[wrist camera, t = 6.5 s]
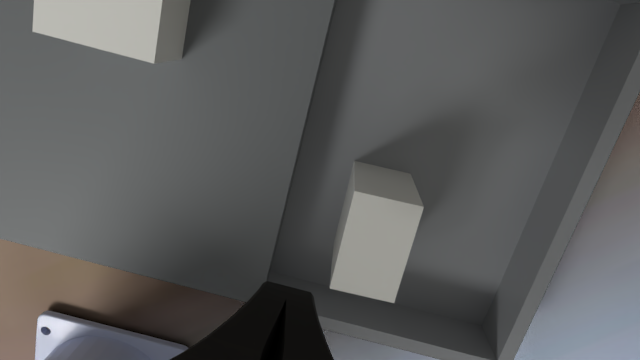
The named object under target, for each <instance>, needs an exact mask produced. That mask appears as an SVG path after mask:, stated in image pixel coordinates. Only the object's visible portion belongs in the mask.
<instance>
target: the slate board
mask: <svg viewBox="0 0 640 360" xmlns="http://www.w3.org/2000/svg"><path fill="white" fill-rule="evenodd" d="M336 4H337V0H191V1H190V7H189V14H188V21H187V27H186V34H185V41H184V47H183V54H182V59H180V60H174V61H168V62H161V63H155V64H153V63H150V62H146V61H142V60H138V59H135V58H131V57H127V56H123V55H119V54H116V53H112V52H108V51H104V50H100V49H97V48H93V47H89V46H85V45H81V44H78V43H74V42H70V41H66V40H63V39H59V38H55V37H51V36H47V35H44V34H40V33H36V32H32V30H33V10H34V0H0V239H4V240H7V241H11V242H15V243H19V244H23V245H27V246H31V247H35V248H38V249H42V250H46V251H50V252H54V253H58V254H62V255H66V256H69V257H73V258H77V259H81V260H85V261H89V262H93V263H96V264H100V265H104V266H108V267H112V268H116V269H120V270H124V271H127V272H131V273H135V274H139V275H143V276H147V277H151V278H155V279H158V280H162V281H166V282H170V283H174V284H178V285H182V286H186V287H189V288H193V289H197V290H201V291H205V292H209V293H213V294H216V295H220V296H224V297H228V298H232V299H236V300H240V301H244V302H247V301H248V300H249V299H250V298H251V297H252V296H253V295H254V294H255V293H256V292H257V290H258V289H259V288H260V286H261V285H262V283H264V282H266V281H268V278H269V275H270V272H271V268H272V264H273V260H274V256H275V252H276V248H277V244H278V240H279V235H280V231H281V227H282V223H283V219H284V215H285V211H286V207H287V203H288V199H289V195H290V191H291V187H292V183H293V179H294V175H295V170H296V166H297V162H298V158H299V154H300V150H301V146H302V142H303V138H304V134H305V130H306V126H307V122H308V118H309V114H310V110H311V105H312V101H313V97H314V93H315V89H316V85H317V81H318V77H319V73H320V69H321V65H322V61H323V57H324V53H325V49H326V44H327V40H328V36H329V32H330V28H331V24H332V20H333V16H334V12H335V8H336Z"/></svg>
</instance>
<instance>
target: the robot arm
mask: <svg viewBox="0 0 640 360" xmlns="http://www.w3.org/2000/svg"><path fill="white" fill-rule="evenodd" d="M46 327H48V328H49V329H50V330H48V329H47V328H46ZM35 360H334V359H333V357H332V355H331V352H330V350H329V347H328V345H327V342H326V339H325V337H324V334H323V331H322V328H321V325H320V322H319V318H318V315H317V311H316V306H315V301H314V296H313V295H312V293H311V292H308V291H304V290H301V289H297V288H293V287H289V286H285V285H281V284H277V283H273V282H270V281H266V282H264V283H262V285H261V286H260V288H259V289H258V290H257V292H256V293H255V294H254V295H253V296H252V297H251V298H250V299H249V300H248V301H247V302H246V304H245V305H243V306H242V307H241V308H240V309H239V310H238V311H237V312H236V313H235V314H234V315H233V316H232V317H231V318H229V319H228V320H227V321H226V322H225V323H223V324H222V325H221V326H220V327H218V328H217V329H216V330H215V331H213V332H212V333H211V334H209V335H208V336H207V337H205V338H204V339H202V340H201V341H199V342H198V343H197V344H195V345H193V346H192V347H190V348H188V347H187V346H185V345H182V344H178V343H174V342H170V341H166V340H162V339H158V338H155V337H151V336H147V335H143V334H139V333H135V332H131V331H127V330H123V329H120V328H116V327H112V326H108V325H104V324H100V323H96V322H92V321H88V320H84V319H81V318H77V317H73V316H69V315H65V314H61V313H57V312H53V311H45V312H43V313H42V314H41V315H40V316H39V317H38V320H37V334H36V349H35Z"/></svg>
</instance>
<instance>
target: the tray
mask: <svg viewBox="0 0 640 360" xmlns="http://www.w3.org/2000/svg"><path fill="white" fill-rule="evenodd" d="M639 92H640V0H337V4H336V8H335V12H334V16H333V20H332V24H331V28H330V32H329V36H328V40H327V44H326V49H325V53H324V57H323V61H322V65H321V69H320V73H319V77H318V81H317V85H316V89H315V93H314V97H313V101H312V105H311V110H310V114H309V118H308V122H307V126H306V130H305V134H304V138H303V142H302V146H301V150H300V154H299V158H298V162H297V166H296V170H295V175H294V179H293V183H292V187H291V191H290V195H289V199H288V203H287V207H286V211H285V215H284V219H283V223H282V227H281V231H280V235H279V240H278V244H277V248H276V252H275V256H274V260H273V264H272V268H271V272H270V275H269V278H268V281H270V282H273V283H277V284H281V285H285V286H289V287H293V288H297V289H301V290H304V291H308V292H311V293H312V295H313V296H314V301H315V306H316V311H317V315H318V318H319V322H320V325H321V328H322V329H324V330H328V331H332V332H336V333H340V334H344V335H347V336H351V337H355V338H359V339H363V340H367V341H371V342H375V343H378V344H382V345H386V346H390V347H394V348H398V349H402V350H406V351H409V352H413V353H417V354H421V355H425V356H429V357H433V358H437V359H440V360H514V358H515V355H516V353H517V351H518V349H519V347H520V345H521V343H522V341H523V338H524V336H525V334H526V332H527V330H528V328H529V326H530V324H531V321H532V319H533V317H534V315H535V313H536V311H537V309H538V307H539V304H540V302H541V300H542V298H543V296H544V294H545V292H546V290H547V287H548V285H549V283H550V281H551V279H552V277H553V275H554V273H555V270H556V268H557V266H558V264H559V262H560V260H561V258H562V256H563V253H564V251H565V249H566V247H567V245H568V243H569V241H570V239H571V237H572V234H573V232H574V230H575V228H576V226H577V224H578V222H579V220H580V217H581V215H582V213H583V211H584V209H585V207H586V205H587V203H588V200H589V198H590V196H591V194H592V192H593V190H594V188H595V186H596V183H597V181H598V179H599V177H600V175H601V173H602V171H603V169H604V166H605V164H606V162H607V160H608V158H609V156H610V154H611V152H612V149H613V147H614V145H615V143H616V141H617V139H618V137H619V135H620V132H621V130H622V128H623V126H624V124H625V122H626V120H627V118H628V116H629V113H630V111H631V109H632V107H633V105H634V103H635V101H636V99H637V96H638V94H639ZM354 161H357V162H362V163H366V164H370V165H375V166H379V167H384V168H388V169H392V170H397V171H401V172H405V173H410V174H411V176H412V179H413V181H414V183H415V186H416V188H417V191H418V193H419V196H420V198H421V201H422V203H423V206H424V209H423V212H422V215H421V218H420V221H419V225H418V228H417V231H416V234H415V237H414V241H413V244H412V247H411V250H410V254H409V257H408V260H407V263H406V266H405V270H404V273H403V276H402V279H401V282H400V286H399V289H398V292H397V295H396V298H395V302H394V303H391V302H387V301H382V300H378V299H373V298H369V297H365V296H360V295H356V294H352V293H347V292H343V291H338V290H334V289H330V277H331V266H332V256H333V245H334V239H335V235H336V231H337V227H338V223H339V219H340V215H341V211H342V207H343V204H344V200H345V196H346V192H347V188H348V184H349V180H350V176H351V172H352V168H353V164H354Z"/></svg>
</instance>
